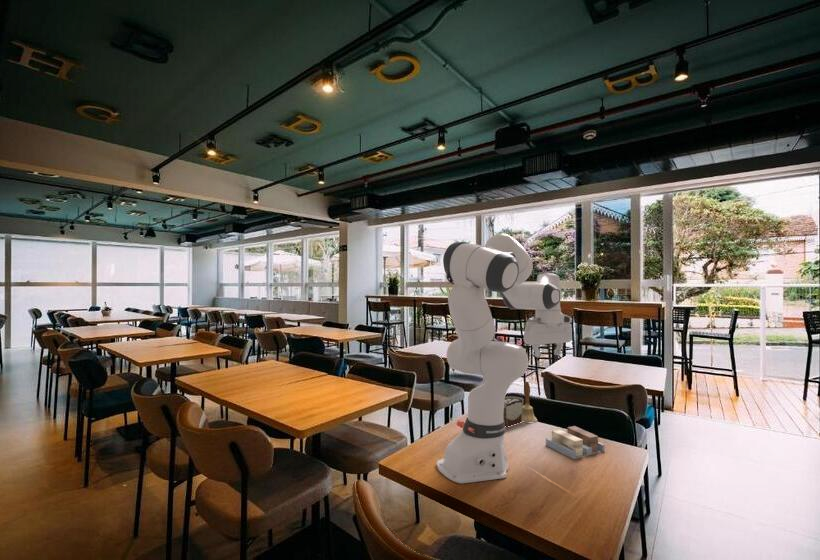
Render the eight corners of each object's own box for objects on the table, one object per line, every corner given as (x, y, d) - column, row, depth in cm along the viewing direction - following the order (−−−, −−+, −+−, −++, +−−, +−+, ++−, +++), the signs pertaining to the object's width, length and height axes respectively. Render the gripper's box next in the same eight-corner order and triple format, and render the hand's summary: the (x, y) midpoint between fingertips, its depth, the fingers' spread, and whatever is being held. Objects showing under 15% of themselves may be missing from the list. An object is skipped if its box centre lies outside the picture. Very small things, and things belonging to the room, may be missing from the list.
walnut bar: (597, 451, 130) (597, 436, 130) (590, 452, 129) (590, 437, 129) (574, 439, 140) (574, 426, 140) (567, 441, 138) (567, 427, 138)
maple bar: (582, 454, 127) (582, 439, 127) (575, 456, 126) (575, 441, 126) (559, 443, 136) (559, 429, 136) (551, 445, 135) (551, 430, 135)
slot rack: (573, 461, 124) (573, 452, 124) (545, 447, 135) (545, 438, 135) (604, 453, 130) (604, 444, 130) (575, 440, 141) (575, 432, 141)
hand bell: (534, 424, 157) (534, 385, 157) (514, 420, 161) (514, 382, 161) (539, 418, 164) (539, 381, 164) (520, 415, 168) (520, 378, 168)
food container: (511, 418, 164) (511, 394, 164) (523, 422, 159) (523, 397, 160) (492, 424, 157) (492, 399, 157) (504, 428, 152) (505, 403, 152)
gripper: (532, 319, 134) (532, 359, 133) (574, 317, 142) (574, 355, 142) (519, 317, 139) (519, 356, 139) (561, 316, 148) (561, 352, 148)
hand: (547, 355), depth 141 cm, fingers open, 8 cm apart
